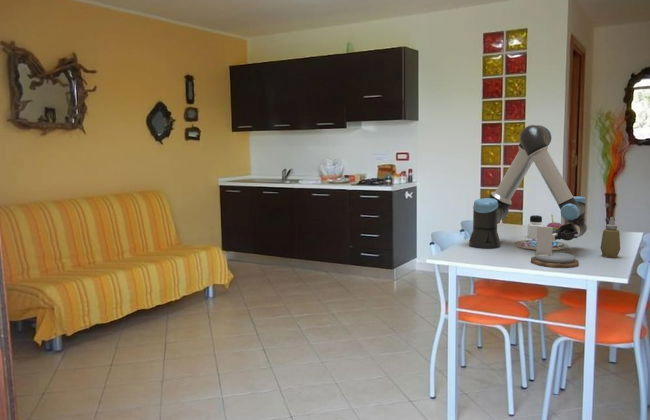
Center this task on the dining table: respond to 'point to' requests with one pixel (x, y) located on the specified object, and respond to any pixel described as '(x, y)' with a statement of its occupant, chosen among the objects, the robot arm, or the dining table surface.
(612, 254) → the squeeze bottle
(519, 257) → the dining table surface
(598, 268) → the dining table surface
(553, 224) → the cupcake
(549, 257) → the dial
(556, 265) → the base
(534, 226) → the medicine bottle
